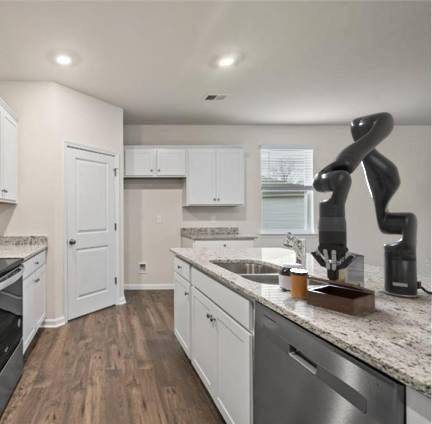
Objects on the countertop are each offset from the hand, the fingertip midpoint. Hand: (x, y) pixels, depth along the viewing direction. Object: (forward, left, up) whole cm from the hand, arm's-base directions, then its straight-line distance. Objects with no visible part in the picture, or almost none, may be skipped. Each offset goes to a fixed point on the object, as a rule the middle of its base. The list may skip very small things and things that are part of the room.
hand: (333, 280), depth 94 cm
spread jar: (-14, -21, -10) cm, 27 cm away
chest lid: (-4, 0, -2) cm, 5 cm away
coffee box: (-32, -9, -10) cm, 35 cm away
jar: (-3, -13, -10) cm, 17 cm away
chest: (-4, 0, -10) cm, 11 cm away
